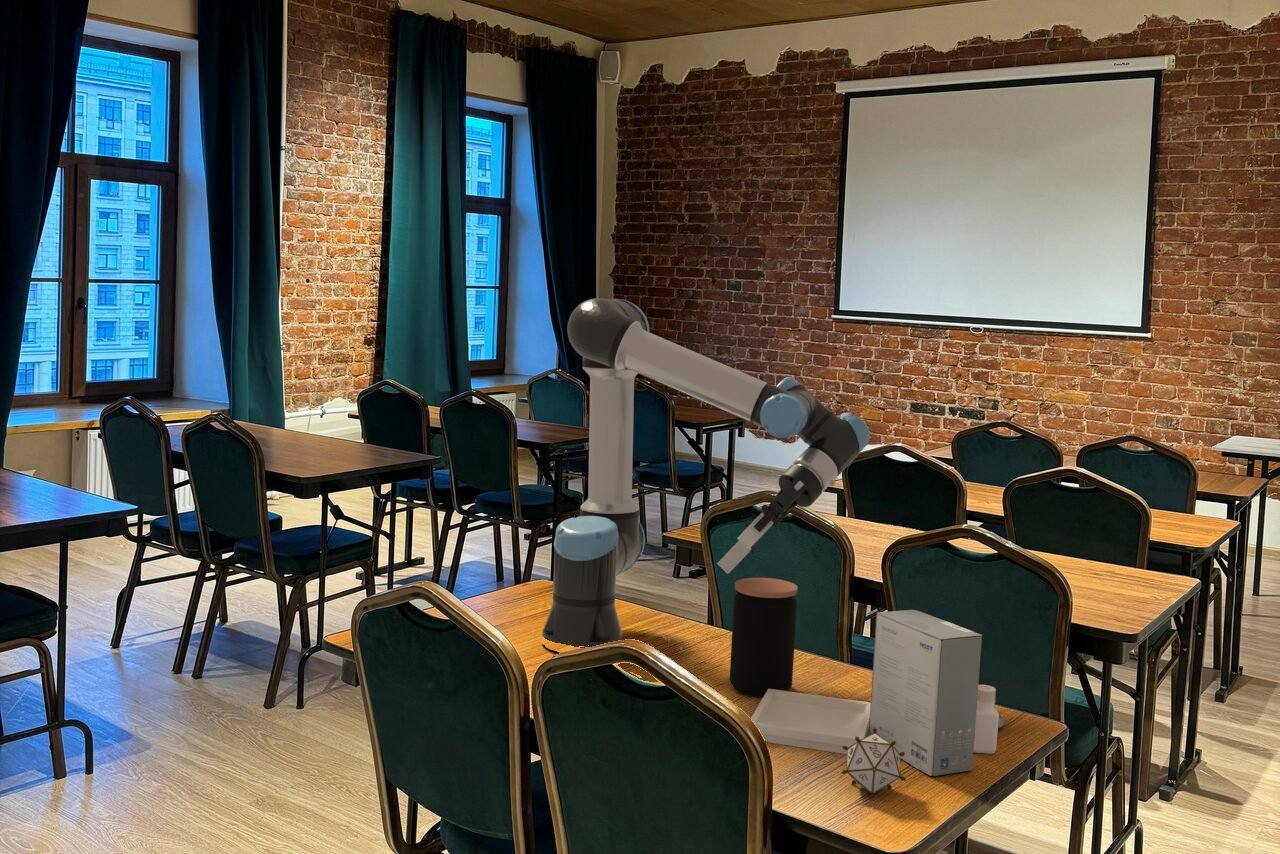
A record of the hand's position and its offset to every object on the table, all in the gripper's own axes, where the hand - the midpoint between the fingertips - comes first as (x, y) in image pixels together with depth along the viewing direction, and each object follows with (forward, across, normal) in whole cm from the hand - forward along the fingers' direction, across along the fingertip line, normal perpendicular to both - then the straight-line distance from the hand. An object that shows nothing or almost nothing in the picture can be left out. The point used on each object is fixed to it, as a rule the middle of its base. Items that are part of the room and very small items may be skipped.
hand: (732, 556), depth 201 cm
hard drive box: (+12, -20, -40) cm, 47 cm away
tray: (+17, -11, -27) cm, 34 cm away
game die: (+25, -30, -36) cm, 54 cm away
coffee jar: (+12, +6, -19) cm, 23 cm away
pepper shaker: (+4, -19, -47) cm, 51 cm away
